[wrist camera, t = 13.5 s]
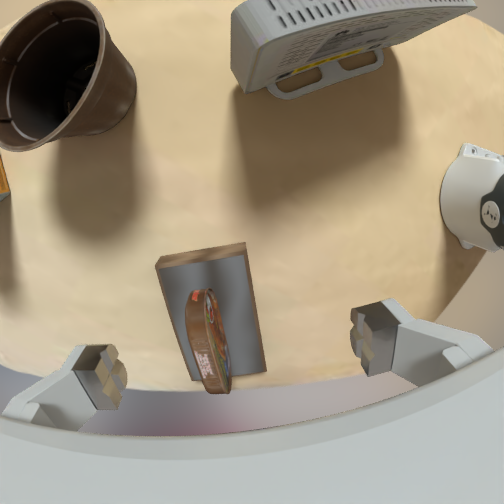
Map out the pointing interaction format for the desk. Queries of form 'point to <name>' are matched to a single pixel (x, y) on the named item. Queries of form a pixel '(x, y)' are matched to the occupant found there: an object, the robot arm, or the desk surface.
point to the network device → (324, 36)
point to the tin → (208, 341)
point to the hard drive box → (3, 183)
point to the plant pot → (60, 76)
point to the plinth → (228, 297)
